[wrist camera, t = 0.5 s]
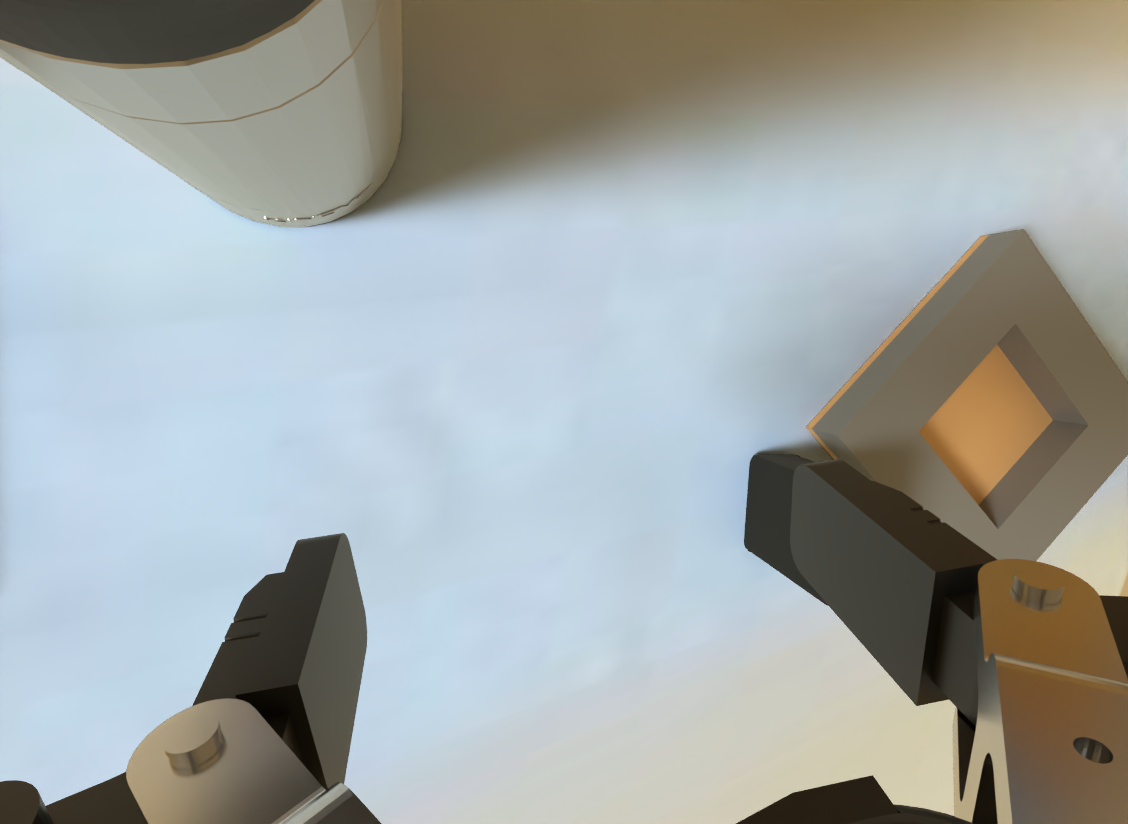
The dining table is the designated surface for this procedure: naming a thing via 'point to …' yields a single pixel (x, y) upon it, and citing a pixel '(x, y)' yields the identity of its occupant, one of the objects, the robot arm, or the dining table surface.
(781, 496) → the ink cartridge
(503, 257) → the dining table surface
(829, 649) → the dining table surface
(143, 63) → the robot arm
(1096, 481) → the frame
